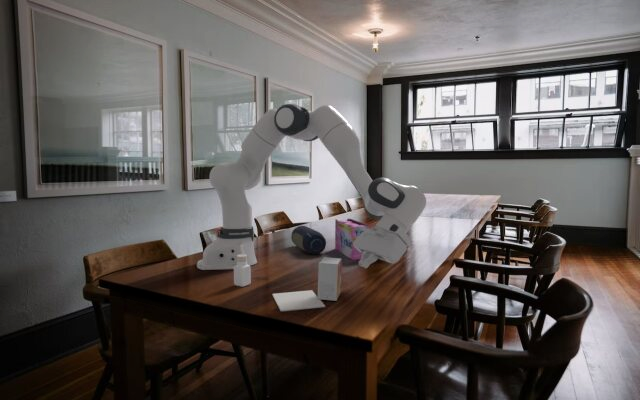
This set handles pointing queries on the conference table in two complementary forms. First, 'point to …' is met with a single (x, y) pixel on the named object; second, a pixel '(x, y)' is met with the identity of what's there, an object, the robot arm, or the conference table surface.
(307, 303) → the mat
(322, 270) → the small box
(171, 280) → the conference table surface
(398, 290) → the conference table surface
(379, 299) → the conference table surface
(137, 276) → the conference table surface
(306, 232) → the portable speaker
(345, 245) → the gum box
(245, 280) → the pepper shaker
